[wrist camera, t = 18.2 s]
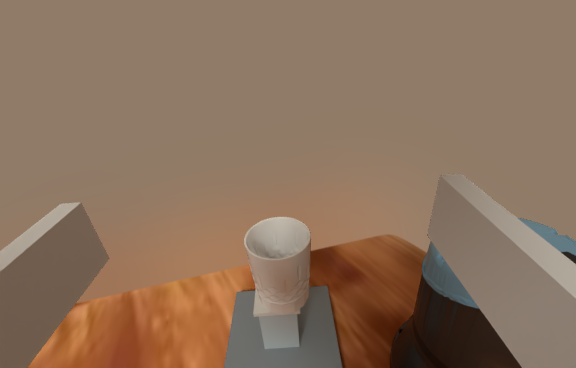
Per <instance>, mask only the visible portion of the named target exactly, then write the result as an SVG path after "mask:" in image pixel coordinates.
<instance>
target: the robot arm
mask: <svg viewBox="0 0 576 368" xmlns="http://www.w3.org/2000/svg"><path fill="white" fill-rule="evenodd" d="M427 236H428V237H429V239H430V240H431V243H430V246H429V249H428V252H427V255H426V256H425V258H424V260H423V263H422V276H421V281H420V286H419V291H418V295H417V300H416V305H415V310H414V314H413V315H412V316H411V317H410V318H409V320H408V321H407V322H405V323H404V324H403V325H402V326H401V327H400V329H399V330H398V332H397V333H396V335H395V337H394V340H393V344H392V349H391V355H390V367H391V368H576V241H574V240H573V239H572V238H570V237H568V236H563V235H557V231H556V230H555V229H553V228H550V227H548V226H546V225H543V224H540V223H536V222H533V221H530V220H525V219H521V218H517V217H515V216H514V215H513V214H512V213H510V212H509V211H508V210H506V209H505V208H504V207H503V206H501V205H500V204H499V203H498V202H496V201H495V200H494V199H493V198H491V197H490V196H489V195H487V194H486V193H485V192H484V191H482V190H481V189H480V188H478V187H477V186H476V185H475V184H473V183H472V182H471V181H470V180H468V179H467V178H466V177H465V176H463V175H462V174H452V175H440V177H439V182H438V187H437V192H436V196H435V201H434V206H433V210H432V215H431V220H430V225H429V229H428V234H427ZM108 259H109V256H108V255H107V253H106V250H105V249H104V247H103V245H102V243H101V241H100V239H99V237H98V235H97V233H96V231H95V229H94V227H93V225H92V223H91V221H90V219H89V217H88V215H87V213H86V211H85V209H84V207H83V205H82V203H81V202H80V203H67V204H60V205H59V206H57V207H56V208H55V209H54V210H52V211H51V212H50V213H48V214H47V215H46V216H45V217H43V218H42V219H41V220H40V221H38V222H37V223H36V224H34V225H33V226H32V227H31V228H29V229H28V230H27V231H25V232H24V233H23V234H22V235H20V236H19V237H18V238H17V239H15V240H14V241H13V242H12V243H10V244H9V245H8V246H7V247H5V248H4V249H3V250H1V251H0V368H27V367H28V366H29V365H30V363H31V362H32V361H33V359H34V358H35V357H36V355H37V354H38V353H39V351H40V350H41V349H42V347H43V346H44V345H45V343H46V342H47V341H48V339H49V338H50V337H51V335H52V334H53V333H54V331H55V330H56V329H57V327H58V326H59V325H60V323H61V322H62V321H63V319H64V318H65V317H66V315H67V314H68V313H69V312H70V310H71V309H72V308H73V306H74V305H75V304H76V302H77V301H78V300H79V298H80V297H81V295H82V294H83V293H84V291H85V290H86V289H87V288H88V286H89V285H90V283H91V282H92V281H93V280H94V278H95V277H96V276H97V274H98V273H99V271H100V270H101V269H102V268H103V266H104V265H105V264H106V262H107V261H108Z"/></svg>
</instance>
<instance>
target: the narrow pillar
mask: <svg viewBox="0 0 576 368" xmlns="http://www.w3.org/2000/svg"><path fill="white" fill-rule="evenodd" d="M224 368H342V363H341V358H340V352H339V347H338V341H337V336H336V330H335V325H334V320H333V314H332V309H331V303H330V298H329V292H328V287H327V286H314V287H309V297H308V299H307V301H306V303H305V305H304V306H303V307H302V308H300V309H299V310H297V311H296V312H295V313H291V314H286V315H279V314H273V313H271V312H269V311H268V310H267V309H265V308H264V307H263V306H262V303H261V301H260V299H259V296H258V291H257V289H256V291H242V292H237V294H236V300H235V306H234V312H233V318H232V324H231V330H230V336H229V342H228V347H227V353H226V359H225V365H224Z"/></svg>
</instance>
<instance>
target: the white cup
mask: <svg viewBox="0 0 576 368" xmlns="http://www.w3.org/2000/svg"><path fill="white" fill-rule="evenodd" d="M310 242H311V234H310V230H309V229H308V227H307V226H306V225H305V224H304V223H303V222H301V221H299V220H297V219H293V218H289V217H273V218H268V219H265V220H262V221H260V222H258V223H257V224H255V225H254V226H252V227H251V228H250V229H249V230H248V232H247V233H246V236H245V239H244V243H245V248H246V252H247V256H248V260H249V264H250V268H251V272H252V275H253V279H254V283H255V286H256V289H257V291H258V296H259V299H260V301H261V303H262V306H263V307H264V308H265V309H267V310H268V311H269V312H271V313H273V314H279V315H286V314H291V313H295V312H296V311H297V310H299V309H300V308H302V307H303V306H304V305H305V303H306V301H307V299H308V297H309V279H310V247H311V243H310Z"/></svg>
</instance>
